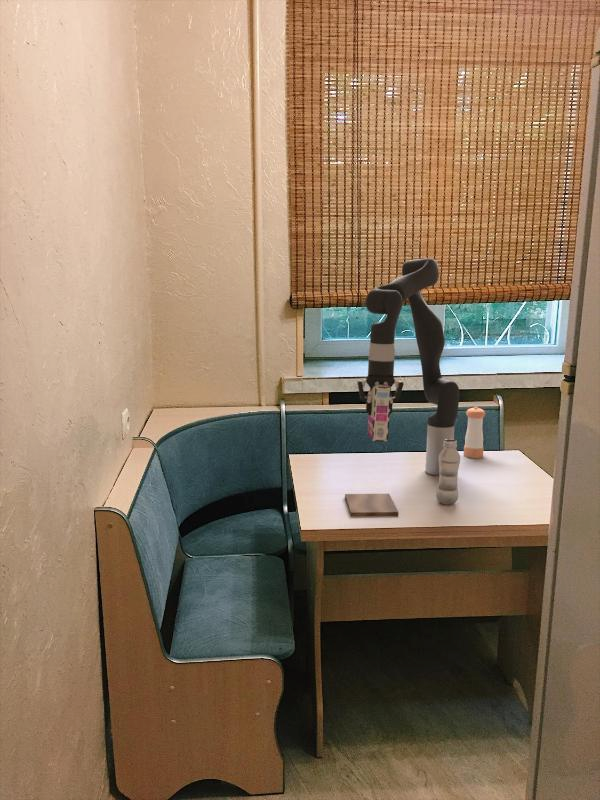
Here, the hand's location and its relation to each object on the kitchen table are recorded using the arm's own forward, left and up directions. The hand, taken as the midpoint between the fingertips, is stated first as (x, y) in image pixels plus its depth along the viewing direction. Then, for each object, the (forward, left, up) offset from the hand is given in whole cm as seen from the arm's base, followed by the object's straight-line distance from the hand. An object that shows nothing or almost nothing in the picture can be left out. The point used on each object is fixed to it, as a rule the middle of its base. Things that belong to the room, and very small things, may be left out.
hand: (378, 414), depth 209 cm
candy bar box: (0, 0, -7) cm, 7 cm away
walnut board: (+2, +2, -28) cm, 28 cm away
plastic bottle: (-22, 0, -29) cm, 36 cm away
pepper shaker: (-45, -52, -29) cm, 74 cm away
